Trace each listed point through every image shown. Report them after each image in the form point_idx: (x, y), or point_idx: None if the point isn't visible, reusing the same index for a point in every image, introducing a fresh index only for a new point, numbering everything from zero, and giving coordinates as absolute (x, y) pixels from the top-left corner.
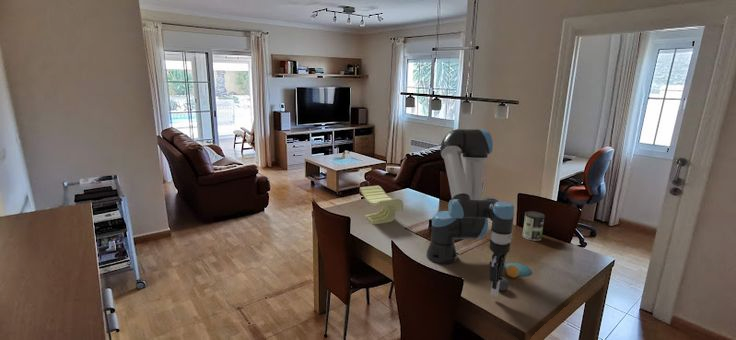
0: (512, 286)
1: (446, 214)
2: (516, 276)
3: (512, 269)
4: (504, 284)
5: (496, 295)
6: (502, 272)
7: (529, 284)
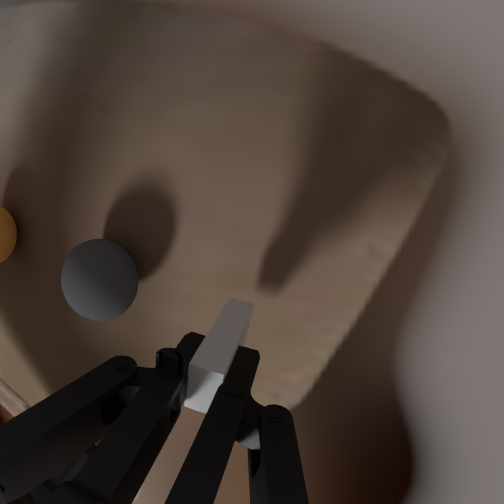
0: (67, 215)
1: None
2: (6, 211)
3: None
4: (112, 274)
5: (252, 310)
6: (99, 374)
7: (25, 144)
